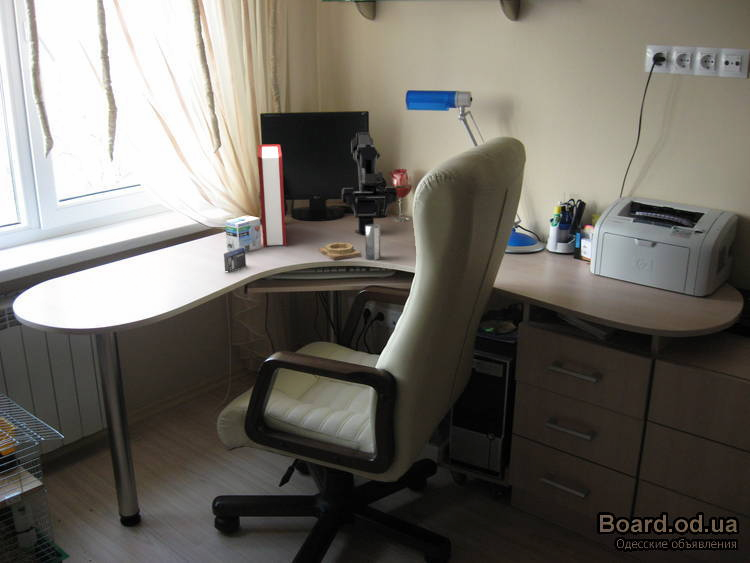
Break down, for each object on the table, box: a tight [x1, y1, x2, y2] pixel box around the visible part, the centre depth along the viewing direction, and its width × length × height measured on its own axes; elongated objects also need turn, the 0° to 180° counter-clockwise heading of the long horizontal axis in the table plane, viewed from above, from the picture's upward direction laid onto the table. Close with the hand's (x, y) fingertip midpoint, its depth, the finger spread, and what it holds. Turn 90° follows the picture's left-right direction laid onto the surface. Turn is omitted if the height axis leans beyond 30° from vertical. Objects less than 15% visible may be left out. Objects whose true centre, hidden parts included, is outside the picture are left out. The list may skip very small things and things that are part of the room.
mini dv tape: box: [223, 248, 247, 273], centre depth 235 cm, size 8×2×6 cm, turn 149°
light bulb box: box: [224, 215, 262, 253], centre depth 255 cm, size 11×7×11 cm, turn 143°
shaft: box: [364, 223, 382, 261], centre depth 244 cm, size 5×5×11 cm
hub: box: [318, 242, 362, 261], centre depth 250 cm, size 12×10×3 cm
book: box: [257, 143, 287, 248], centre depth 267 cm, size 27×8×32 cm, turn 8°
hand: (371, 216), depth 248 cm, fingers open, 9 cm apart
